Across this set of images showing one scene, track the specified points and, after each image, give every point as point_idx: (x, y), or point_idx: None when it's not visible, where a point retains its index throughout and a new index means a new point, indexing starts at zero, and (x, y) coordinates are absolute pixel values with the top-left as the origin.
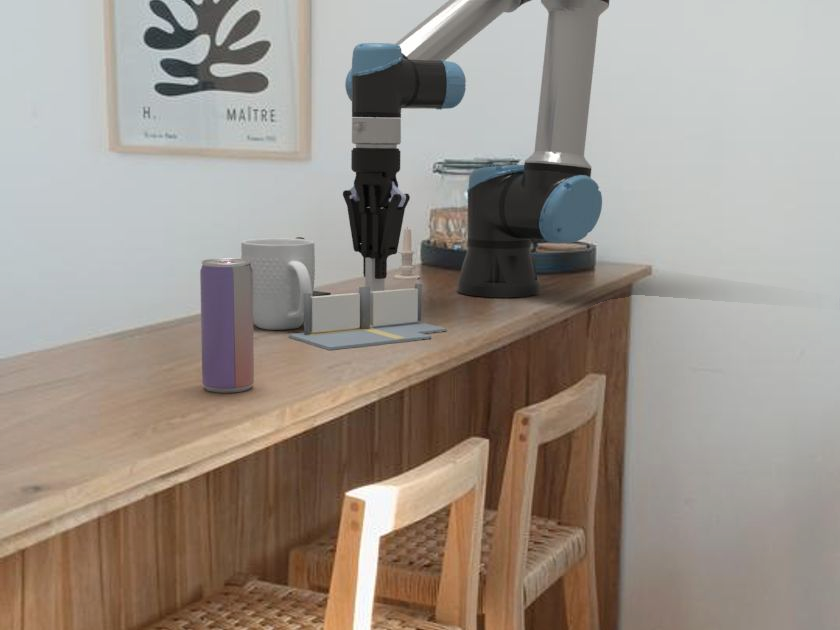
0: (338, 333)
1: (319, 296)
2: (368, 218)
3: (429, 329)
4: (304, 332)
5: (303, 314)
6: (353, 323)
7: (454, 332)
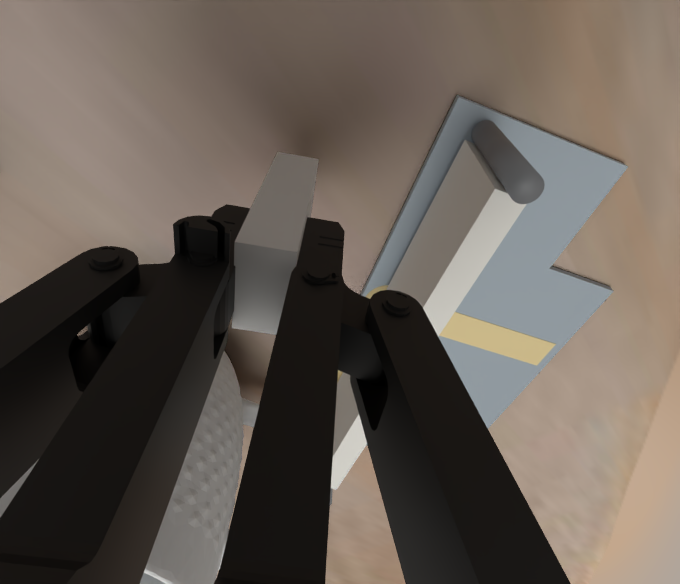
0: None
1: (333, 472)
2: (139, 565)
3: (572, 212)
4: None
5: None
6: None
7: (654, 158)
